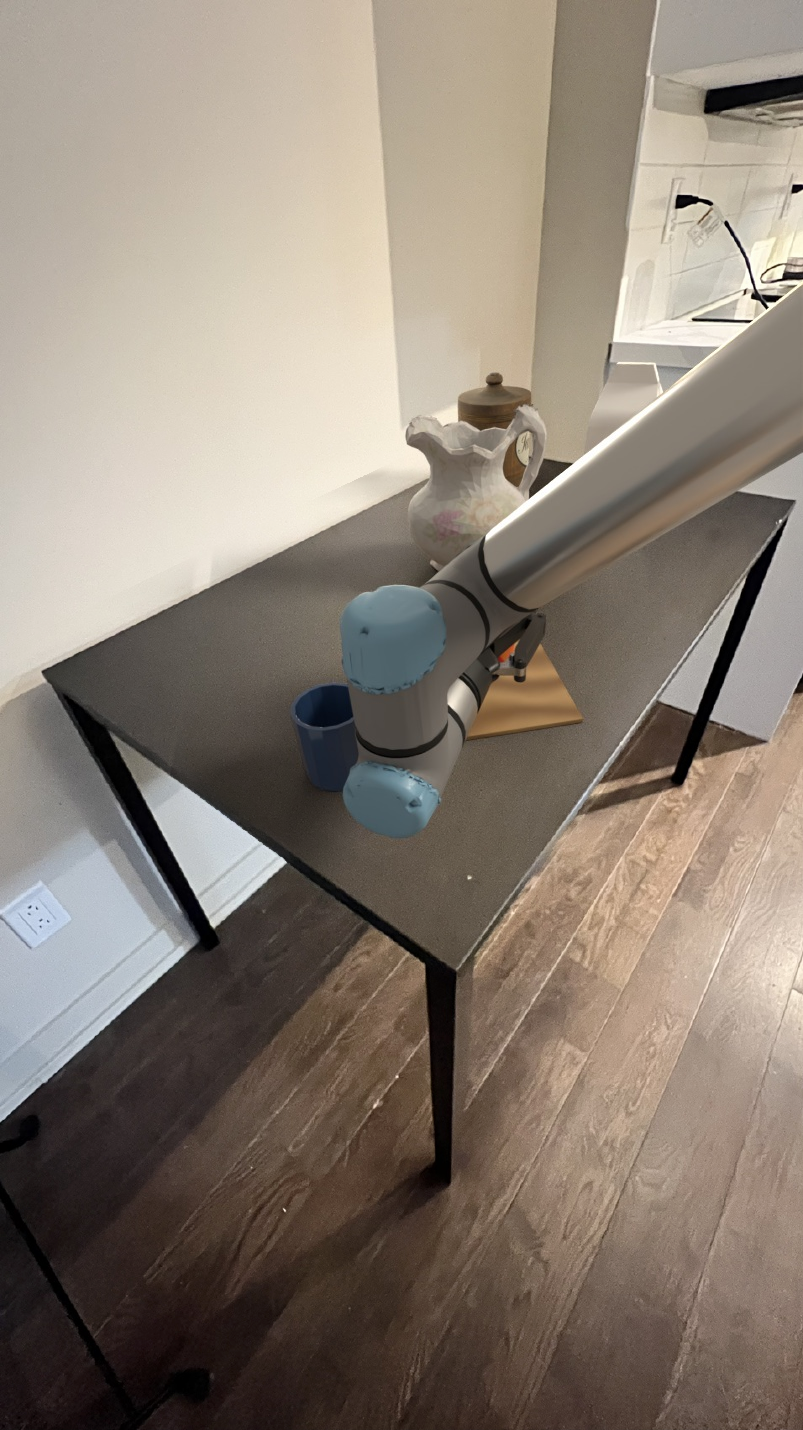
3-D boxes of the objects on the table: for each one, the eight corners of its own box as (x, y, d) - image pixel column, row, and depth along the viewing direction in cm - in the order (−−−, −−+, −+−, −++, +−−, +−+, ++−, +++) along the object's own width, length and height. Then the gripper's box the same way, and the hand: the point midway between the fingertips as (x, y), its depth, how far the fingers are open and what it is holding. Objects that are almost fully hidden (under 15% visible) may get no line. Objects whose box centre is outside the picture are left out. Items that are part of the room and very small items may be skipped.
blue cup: (378, 785, 69) (369, 723, 63) (306, 796, 68) (290, 735, 63) (371, 738, 75) (362, 677, 69) (305, 748, 75) (290, 688, 69)
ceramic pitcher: (510, 537, 117) (509, 390, 103) (561, 574, 101) (567, 406, 87) (401, 562, 113) (383, 412, 99) (435, 603, 98) (420, 433, 83)
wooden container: (537, 492, 130) (543, 375, 116) (468, 503, 129) (466, 385, 115) (514, 470, 142) (517, 361, 128) (451, 479, 140) (447, 370, 126)
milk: (573, 527, 116) (588, 370, 99) (591, 504, 123) (607, 355, 107) (640, 535, 111) (667, 372, 94) (654, 511, 118) (681, 355, 101)
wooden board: (582, 722, 74) (583, 718, 73) (433, 745, 73) (433, 741, 73) (536, 641, 88) (537, 638, 87) (410, 660, 87) (410, 656, 86)
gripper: (355, 711, 66) (427, 603, 82) (540, 746, 59) (579, 621, 75) (345, 652, 61) (424, 550, 77) (545, 683, 54) (586, 564, 71)
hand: (501, 585), depth 76 cm, fingers closed on paper cup, 6 cm apart
